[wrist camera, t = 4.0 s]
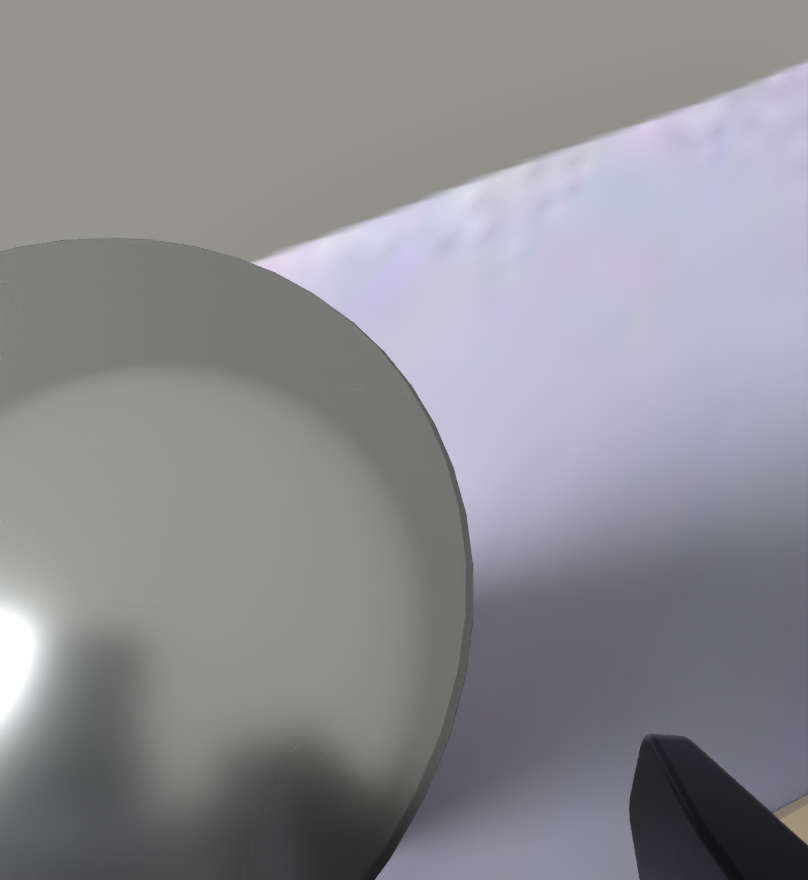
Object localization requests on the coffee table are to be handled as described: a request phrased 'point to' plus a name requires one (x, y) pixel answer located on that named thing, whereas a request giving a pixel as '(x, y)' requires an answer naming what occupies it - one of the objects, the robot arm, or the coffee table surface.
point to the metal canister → (214, 574)
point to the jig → (796, 817)
